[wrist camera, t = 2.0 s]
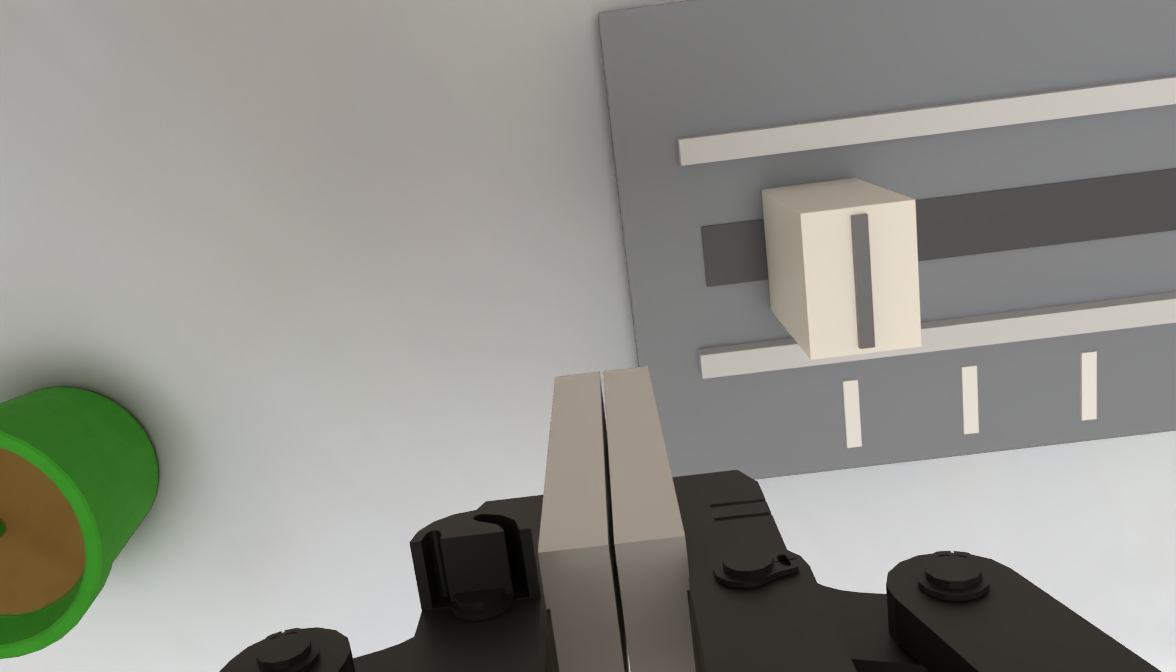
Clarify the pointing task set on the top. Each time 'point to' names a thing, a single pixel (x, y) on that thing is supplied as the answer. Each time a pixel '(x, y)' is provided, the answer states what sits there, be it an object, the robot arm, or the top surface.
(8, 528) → the potted flower
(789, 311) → the fader tab
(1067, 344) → the console
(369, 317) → the top surface
